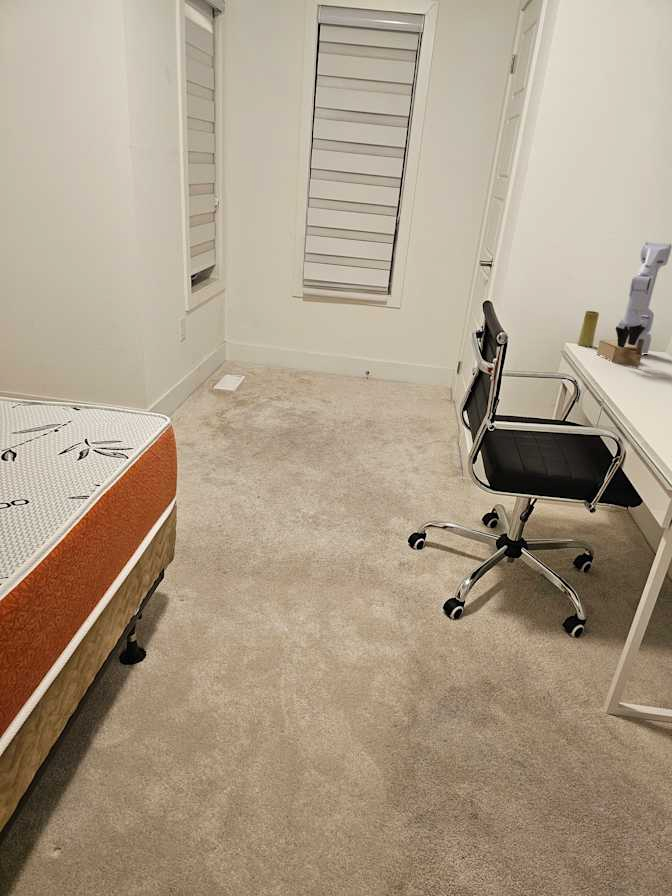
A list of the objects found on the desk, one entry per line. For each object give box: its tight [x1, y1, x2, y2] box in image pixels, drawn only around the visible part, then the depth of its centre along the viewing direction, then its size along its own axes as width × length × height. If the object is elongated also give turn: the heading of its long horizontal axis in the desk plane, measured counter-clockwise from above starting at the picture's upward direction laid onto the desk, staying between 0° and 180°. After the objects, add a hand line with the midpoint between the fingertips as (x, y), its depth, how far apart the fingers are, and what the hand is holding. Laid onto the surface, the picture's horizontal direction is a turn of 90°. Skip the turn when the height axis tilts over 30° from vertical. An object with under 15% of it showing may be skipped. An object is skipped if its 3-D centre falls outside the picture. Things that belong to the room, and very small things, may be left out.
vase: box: [577, 310, 600, 347], centre depth 259 cm, size 6×6×14 cm
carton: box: [596, 339, 637, 362], centre depth 241 cm, size 10×11×6 cm
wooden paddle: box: [612, 339, 644, 369], centre depth 230 cm, size 10×2×11 cm, turn 39°
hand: (626, 345), depth 230 cm, fingers open, 7 cm apart
